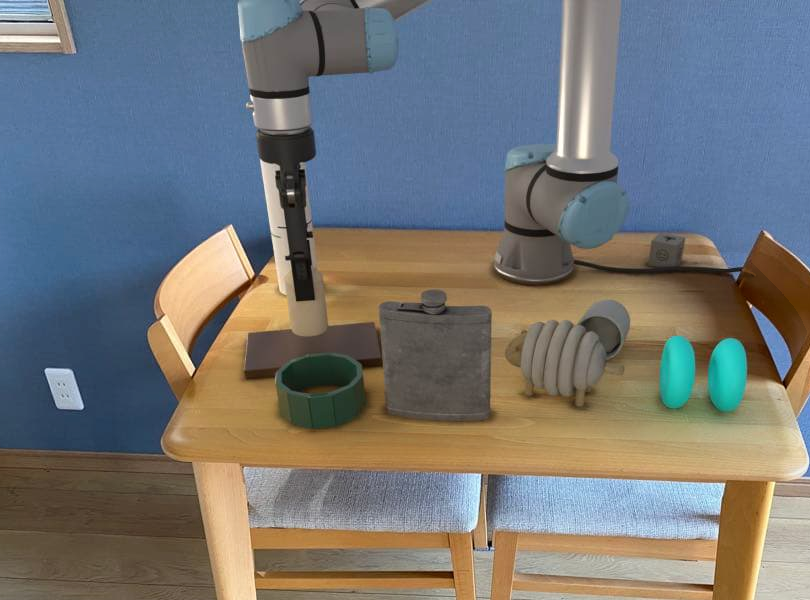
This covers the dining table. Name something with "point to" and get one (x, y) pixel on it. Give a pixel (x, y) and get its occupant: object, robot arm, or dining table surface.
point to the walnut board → (309, 347)
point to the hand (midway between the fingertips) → (305, 290)
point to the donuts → (722, 374)
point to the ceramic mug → (608, 324)
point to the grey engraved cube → (666, 250)
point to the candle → (307, 307)
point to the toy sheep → (560, 359)
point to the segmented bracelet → (320, 406)
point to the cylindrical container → (282, 222)
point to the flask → (436, 359)
